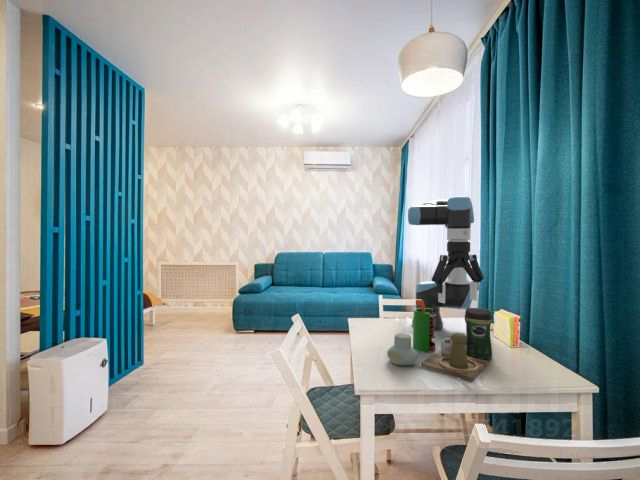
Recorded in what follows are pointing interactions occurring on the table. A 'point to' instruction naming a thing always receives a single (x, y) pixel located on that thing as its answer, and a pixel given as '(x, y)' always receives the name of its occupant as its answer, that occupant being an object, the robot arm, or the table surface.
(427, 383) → the table surface
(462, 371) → the carrier board
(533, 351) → the table surface
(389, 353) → the air freshener
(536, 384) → the table surface
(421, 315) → the motor
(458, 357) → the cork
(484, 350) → the coffee jar
